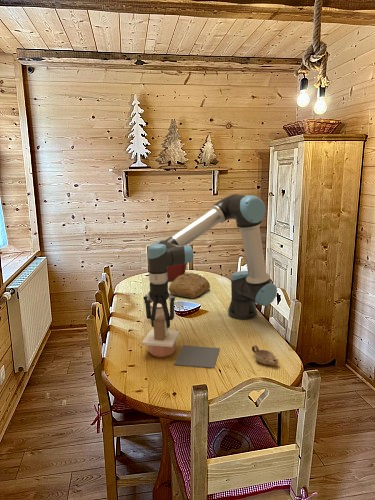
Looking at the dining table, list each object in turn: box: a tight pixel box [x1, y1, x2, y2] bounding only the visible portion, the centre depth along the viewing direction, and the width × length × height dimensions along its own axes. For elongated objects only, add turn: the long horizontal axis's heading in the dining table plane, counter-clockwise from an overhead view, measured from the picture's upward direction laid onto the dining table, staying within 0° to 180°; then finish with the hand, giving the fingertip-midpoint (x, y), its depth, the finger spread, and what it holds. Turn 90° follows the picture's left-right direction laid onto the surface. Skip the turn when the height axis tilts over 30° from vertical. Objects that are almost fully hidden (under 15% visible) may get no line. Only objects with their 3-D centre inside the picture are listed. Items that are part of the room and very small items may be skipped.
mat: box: [174, 344, 220, 369], centre depth 154 cm, size 16×16×1 cm
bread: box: [168, 272, 211, 299], centre depth 232 cm, size 24×21×12 cm
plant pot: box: [167, 263, 188, 282], centre depth 259 cm, size 19×19×17 cm
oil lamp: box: [251, 344, 279, 366], centre depth 149 cm, size 13×8×5 cm, turn 33°
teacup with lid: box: [150, 302, 165, 318], centre depth 192 cm, size 12×9×12 cm
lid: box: [141, 316, 181, 347], centre depth 157 cm, size 13×13×9 cm
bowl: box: [147, 341, 177, 358], centre depth 159 cm, size 11×11×6 cm
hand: (161, 334), depth 158 cm, fingers closed on lid, 4 cm apart
